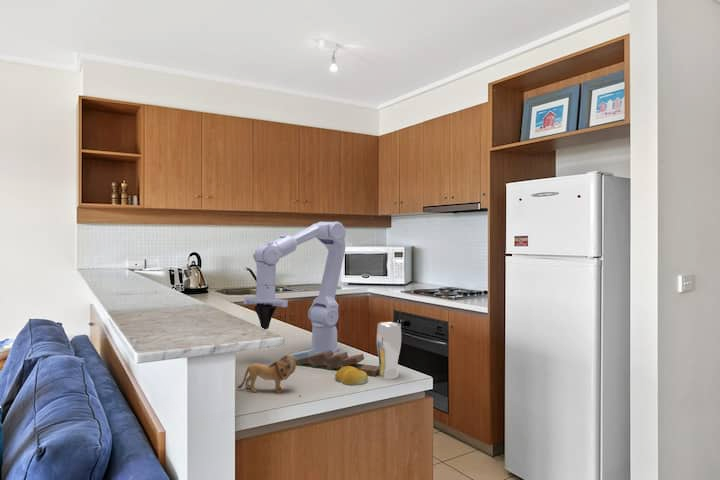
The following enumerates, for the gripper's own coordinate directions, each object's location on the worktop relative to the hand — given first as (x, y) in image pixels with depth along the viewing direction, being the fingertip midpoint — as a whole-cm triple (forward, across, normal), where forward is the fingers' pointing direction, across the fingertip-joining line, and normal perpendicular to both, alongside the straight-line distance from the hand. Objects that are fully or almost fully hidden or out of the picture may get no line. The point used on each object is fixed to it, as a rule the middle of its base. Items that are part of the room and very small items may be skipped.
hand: (265, 328), depth 152 cm
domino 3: (+9, +16, +3) cm, 19 cm away
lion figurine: (+11, +15, -22) cm, 28 cm away
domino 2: (+9, +11, +3) cm, 15 cm away
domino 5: (+9, +26, +3) cm, 28 cm away
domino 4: (+9, +21, +3) cm, 23 cm away
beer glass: (+11, +39, +3) cm, 41 cm away
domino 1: (+9, +5, +3) cm, 11 cm away
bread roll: (+11, +31, -5) cm, 34 cm away
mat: (+10, +17, +3) cm, 20 cm away
